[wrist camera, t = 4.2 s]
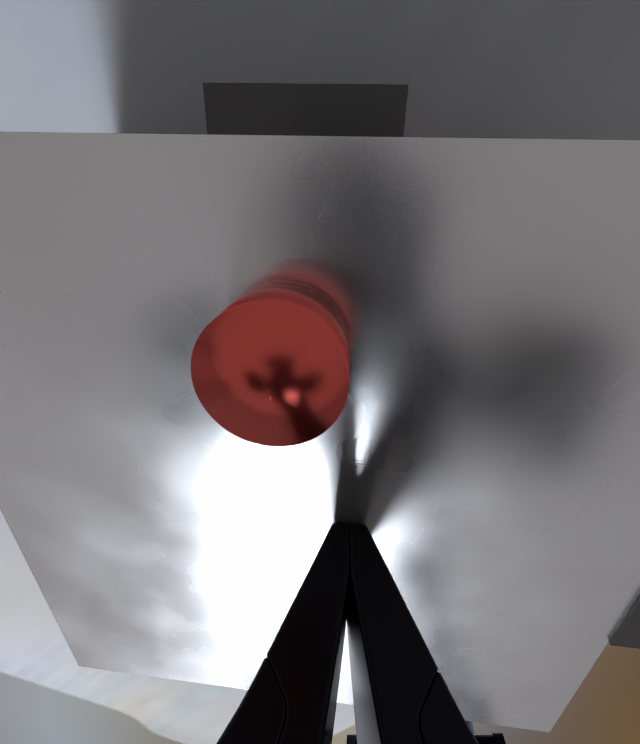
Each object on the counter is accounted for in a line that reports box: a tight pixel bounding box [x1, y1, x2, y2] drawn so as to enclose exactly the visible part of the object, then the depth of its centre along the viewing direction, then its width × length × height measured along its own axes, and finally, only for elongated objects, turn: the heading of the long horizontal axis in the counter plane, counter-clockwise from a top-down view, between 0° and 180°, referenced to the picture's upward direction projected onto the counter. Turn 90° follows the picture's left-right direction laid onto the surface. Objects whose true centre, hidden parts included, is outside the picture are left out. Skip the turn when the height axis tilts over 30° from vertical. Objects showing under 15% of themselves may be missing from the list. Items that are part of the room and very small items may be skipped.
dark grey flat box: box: [203, 83, 408, 137], centre depth 14 cm, size 19×16×8 cm
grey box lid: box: [0, 132, 640, 732], centre depth 9 cm, size 17×20×3 cm
